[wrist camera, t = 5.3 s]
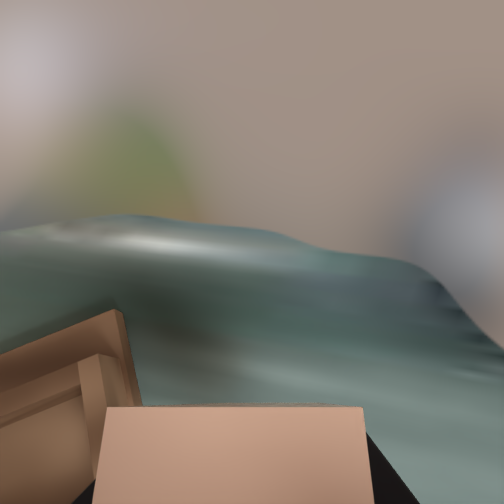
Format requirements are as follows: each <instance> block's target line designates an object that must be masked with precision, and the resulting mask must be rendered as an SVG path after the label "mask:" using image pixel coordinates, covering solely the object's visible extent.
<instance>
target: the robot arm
mask: <svg viewBox="0 0 504 504" xmlns="http://www.w3.org/2000/svg"><path fill="white" fill-rule="evenodd" d="M366 439H367V447H368V456H369V464H370V472H371V480H372V488H373V496H374V504H420V503H419V502H418V500H417V499H416V498H415V496H414V495H413V494H412V492H411V491H410V490H409V488H408V487H407V486H406V484H405V483H404V482H403V480H402V479H401V478H400V476H399V475H398V474H397V472H396V471H395V470H394V469H393V467H392V466H391V465H390V463H389V462H388V461H387V459H386V458H385V457H384V455H383V454H382V453H381V451H380V450H379V449H378V447H377V446H376V445H375V443H374V442H373V441H372V439H371V438H370V437H369V435H368V434H367V433H366ZM95 481H96V479H95V480H94V481H93V482H92V483H91V484H90V485H89V486H88V487H87V488H86V489H85V490H84V491H83V492H82V493H81V494H80V495H79V496H78V497H77V498H76V499H75V500H74V501H73V502H72V503H71V504H92V500H93V494H94V488H95Z"/></svg>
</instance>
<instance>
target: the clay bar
mask: <svg viewBox="0 0 504 504" xmlns="http://www.w3.org/2000/svg"><path fill="white" fill-rule="evenodd" d="M92 504H374V496H373V488H372V480H371V472H370V464H369V456H368V447H367V439H366V431H365V423H364V415H363V407H356V406H346V405H336V404H326V403H210V404H181V405H152V406H124V407H107V412H106V418H105V424H104V431H103V437H102V443H101V450H100V456H99V462H98V469H97V475H96V481H95V488H94V494H93V500H92Z"/></svg>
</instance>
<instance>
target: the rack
mask: <svg viewBox="0 0 504 504" xmlns="http://www.w3.org/2000/svg"><path fill="white" fill-rule="evenodd" d="M124 406H143V405H142V401H141V396H140V392H139V387H138V382H137V378H136V373H135V369H134V364H133V359H132V355H131V350H130V345H129V341H128V336H127V332H126V327H125V322H124V318H123V313H122V312H120V311H118V310H116V309H112V310H110V311H107V312H105V313H102V314H100V315H97V316H95V317H92V318H90V319H87V320H85V321H82V322H80V323H77V324H75V325H73V326H70V327H68V328H65V329H63V330H60V331H58V332H55V333H53V334H50V335H48V336H45V337H43V338H40V339H38V340H35V341H33V342H30V343H28V344H25V345H23V346H20V347H18V348H16V349H13V350H11V351H8V352H6V353H3V354H1V355H0V504H71V503H72V502H73V501H74V500H75V499H76V498H77V497H78V496H79V495H80V494H81V493H82V492H83V491H84V490H85V489H86V488H87V487H88V486H89V485H90V484H91V483H92V482H93V481H94V480H95V479H96V475H97V469H98V462H99V456H100V450H101V443H102V437H103V431H104V424H105V418H106V412H107V407H124Z"/></svg>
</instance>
